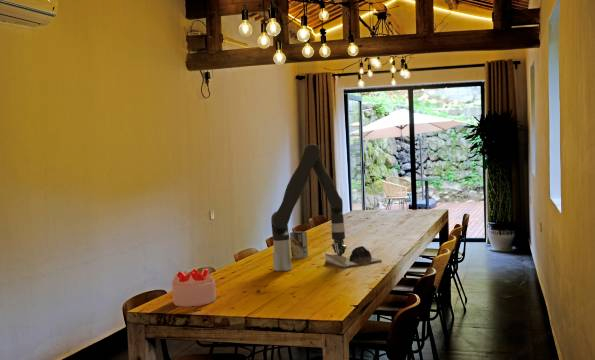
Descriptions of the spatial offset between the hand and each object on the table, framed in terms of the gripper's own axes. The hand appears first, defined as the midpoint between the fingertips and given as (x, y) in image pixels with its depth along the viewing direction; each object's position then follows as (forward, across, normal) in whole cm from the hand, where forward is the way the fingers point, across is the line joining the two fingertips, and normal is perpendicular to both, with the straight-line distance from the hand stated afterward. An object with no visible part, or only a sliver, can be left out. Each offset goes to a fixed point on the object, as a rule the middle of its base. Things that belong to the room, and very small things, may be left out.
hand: (339, 260), depth 347 cm
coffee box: (+3, -41, -5) cm, 41 cm away
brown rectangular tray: (+2, 0, +9) cm, 9 cm away
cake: (+3, +25, -94) cm, 97 cm away
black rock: (+2, +1, +14) cm, 14 cm away
